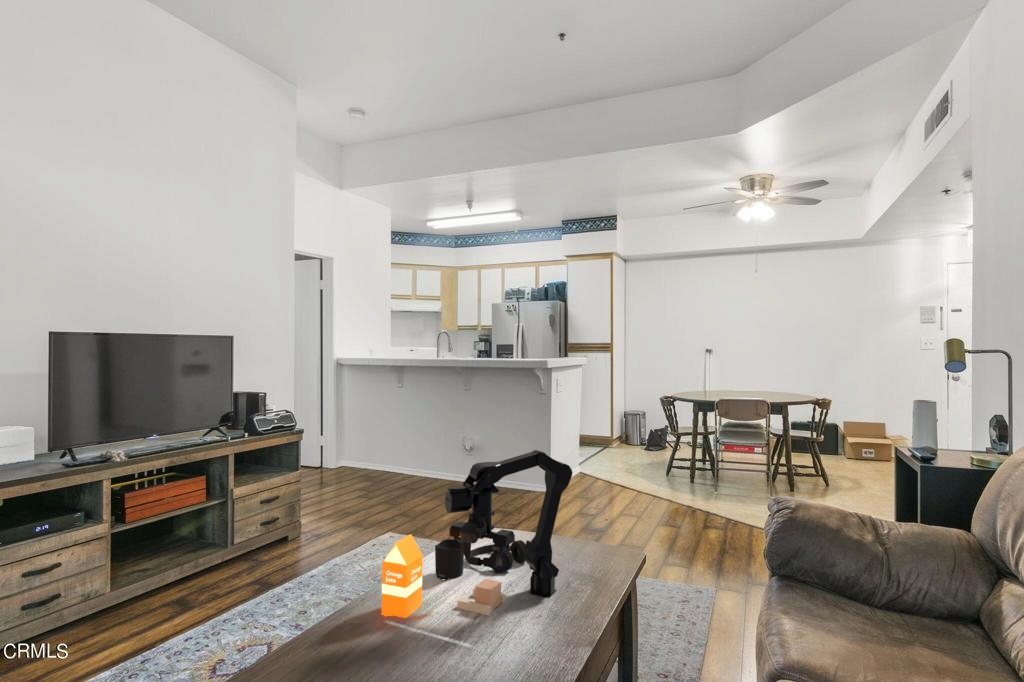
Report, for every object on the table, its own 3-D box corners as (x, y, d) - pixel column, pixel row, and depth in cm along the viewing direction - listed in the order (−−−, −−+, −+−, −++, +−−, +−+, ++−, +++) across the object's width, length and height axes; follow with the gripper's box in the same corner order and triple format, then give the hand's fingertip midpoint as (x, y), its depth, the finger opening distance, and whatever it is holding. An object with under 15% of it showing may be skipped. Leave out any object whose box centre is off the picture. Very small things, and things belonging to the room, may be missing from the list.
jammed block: (500, 603, 160) (501, 582, 161) (490, 611, 155) (491, 590, 155) (485, 599, 163) (485, 578, 163) (474, 607, 157) (475, 586, 157)
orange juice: (380, 615, 153) (382, 541, 154) (398, 601, 162) (399, 531, 162) (406, 620, 151) (407, 545, 151) (422, 606, 159) (423, 535, 159)
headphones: (502, 552, 181) (456, 548, 192) (505, 576, 180) (458, 571, 192) (532, 538, 195) (487, 535, 206) (534, 560, 194) (489, 556, 205)
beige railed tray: (507, 601, 163) (507, 593, 163) (486, 619, 152) (487, 609, 152) (454, 588, 171) (454, 580, 171) (431, 604, 160) (431, 595, 160)
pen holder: (431, 572, 184) (431, 541, 184) (458, 568, 187) (459, 537, 188) (439, 583, 175) (439, 550, 175) (467, 578, 179) (468, 547, 179)
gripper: (438, 511, 158) (437, 567, 157) (496, 521, 149) (495, 580, 149) (460, 501, 167) (459, 554, 167) (515, 510, 159) (515, 566, 158)
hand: (481, 563), depth 160 cm, fingers open, 9 cm apart
